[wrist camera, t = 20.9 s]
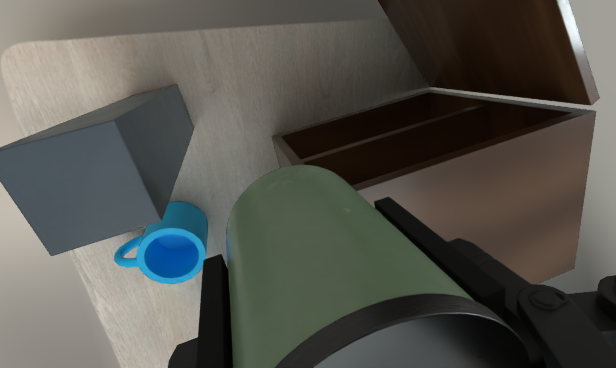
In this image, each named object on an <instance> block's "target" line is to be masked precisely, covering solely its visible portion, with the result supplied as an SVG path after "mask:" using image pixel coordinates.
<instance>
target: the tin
mask: <svg viewBox="0 0 616 368" xmlns="http://www.w3.org/2000/svg"><path fill="white" fill-rule="evenodd" d="M226 244H227V264H228V284H229V303H230V323H231V343H232V363H233V368H531V363H530V357H529V354H528V351H527V349H526V347H525V344H524V342H523V341H522V340H521V338H520V337H519V336H518V334H517V333H516V332H515V331H514V330H513V329H512V328H511V327H510V326H508V325H507V324H506V323H505V322H504V321H503V320H502V319H501V318H500V317H499V316H497V315H496V314H495V313H494V312H493V311H492V310H490V309H489V308H487V307H486V306H484V305H482V304H480V303H479V302H476V301H475V300H474V299H473V298H472V297H471V296H469V295H468V294H467V293H466V292H465V291H464V290H463V289H462V288H461V287H460V286H459V285H458V284H456V283H455V282H454V281H453V280H452V279H451V278H450V277H449V276H448V275H447V274H446V273H445V272H443V271H442V270H441V269H440V268H439V267H438V266H437V265H436V264H435V263H434V262H433V261H432V260H431V259H429V258H428V257H427V256H426V255H425V254H424V253H423V252H422V251H421V250H420V249H419V248H418V247H416V246H415V245H414V244H413V243H412V242H411V241H410V240H409V239H408V238H407V237H406V236H405V235H403V234H402V233H401V232H400V231H399V230H398V229H397V228H396V227H395V226H394V225H393V224H392V223H390V222H389V221H388V220H387V219H386V218H385V217H384V216H383V215H382V214H381V213H380V212H379V211H378V210H376V209H375V208H374V207H373V206H372V205H371V204H370V203H369V202H368V201H367V200H366V199H365V198H363V197H362V196H361V195H360V194H359V193H358V192H357V191H356V190H355V189H354V188H353V187H352V186H350V185H349V184H348V183H347V182H346V181H345V180H344V179H343V178H341V177H340V176H339V175H337V174H335V173H334V172H332V171H329V170H327V169H324V168H321V167H317V166H311V165H295V166H288V167H284V168H280V169H277V170H275V171H272V172H270V173H268V174H266V175H264V176H262V177H260V178H259V179H258V180H256V181H255V182H253V183H252V184H251V185H250V186H249V187H248V188H247V189H246V190H245V191H244V192H243V193H242V194H241V196H240V197H239V198H238V200H237V201H236V203H235V204H234V206H233V209H232V211H231V213H230V216H229V219H228V223H227V229H226Z"/></svg>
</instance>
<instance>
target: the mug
mask: <svg viewBox="0 0 616 368" xmlns="http://www.w3.org/2000/svg"><path fill="white" fill-rule="evenodd" d="M207 234H208V224H207V219H206V217H205V215H204V213H203V212H202V211H201V210H200V209H199V208H198V207H196V206H194V205H192V204H190V203H186V202H180V201H179V202H170V203H168V205H167V208H166V211H165V214H164V217H163V219H162V221H161V222H158V223H154V224H151V225H148V226H147V228H146V230H145V233H144V235H141V236H139V237H137V238H134V239H132V240H131V241H129V242H127V243H125V244H124V245H123V246H121V247H120V248H119V249H118V250H117V251H116V252H115V255H114V261H115V262H116V263H117V264H118V265H119V266H123V267H139V268H140V269H141V271H142V272H143V274H145V275H146V276H147V277H149V278H150V279H151V280H154V281H157V282H160V283H166V284H175V283H181V282H184V281H187V280H189V279H191V278H193V277H194V276H195V275H196V274H198V273H199V272H200V270H201V269H202V267H203V260H205V259H206V251H207ZM137 246H139V247H138V250H137V256H136V258H123V256H124V255H125V254H126V253H127V252H129V251H130V250H131V249H133V248H135V247H137Z"/></svg>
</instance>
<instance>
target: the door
mask: <svg viewBox="0 0 616 368" xmlns="http://www.w3.org/2000/svg"><path fill="white" fill-rule="evenodd" d="M378 2H379V3H380V5H381V6H382V8H383V10H384V12H385V13H386V15H387V17H388V18H389V20H390V22H391V23H392V25H393V27H394V28H395V30H396V32H397V33H398V35H399V37H400V38H401V40H402V42H403V43H404V45H405V47H406V48H407V50H408V52H409V53H410V55H411V57H412V58H413V60H414V62H415V63H416V65H417V67H418V68H419V70H420V72H421V73H422V75H423V77H424V78H425V80H426V82H427V83H428V85H429V87H436V88H444V89H453V90H462V91H470V92H479V93H488V94H496V95H505V96H513V97H522V98H531V99H539V100H548V101H557V102H565V103H574V104H583V105H593V104H594V103H595V102H596V101H597V100H598V99H599V98H600V97H599V94H598V91H597V88H596V85H595V82H594V78H593V75H592V72H591V69H590V66H589V62H588V60H587V56H586V53H585V50H584V47H583V43H582V40H581V37H580V34H579V31H578V28H577V25H576V22H575V18H574V15H573V12H572V9H571V5H570V2H569V0H378Z"/></svg>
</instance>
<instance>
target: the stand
mask: <svg viewBox="0 0 616 368" xmlns="http://www.w3.org/2000/svg"><path fill="white" fill-rule="evenodd" d="M193 131H194V127H193V124H192V122H191V119H190V117H189V114H188V111H187V109H186V106H185V103H184V101H183V98H182V96H181V93H180V90H179V88H178V85H173V86H169V87H165V88H161V89H157V90H153V91H149V92H145V93H142V94H138V95H134V96H130V97H127V98H125V99H122V100H120V101H117V102H115V103H112V104H110V105H107V106H104V107H102V108H99V109H97V110H94V111H92V112H89V113H87V114H84V115H82V116H79V117H76V118H74V119H71V120H69V121H66V122H64V123H61V124H59V125H56V126H54V127H51V128H48V129H46V130H43V131H41V132H38V133H36V134H33V135H31V136H28V137H26V138H23V139H20V140H18V141H15V142H13V143H10V144H8V145H5V146H3V147H1V148H0V182H1V183H2V185H3V186H4V188H5V189H6V191H7V192H8V193H9V195H10V196H11V198H12V199H13V201H14V202H15V204H16V205H17V206H18V208H19V210H20V211H21V213H22V214H23V215H24V217H25V218H26V220H27V221H28V223H29V224H30V226H31V227H32V228H33V230H34V232H35V233H36V235H37V236H38V238H39V239H40V240H41V242H42V243H43V245H44V246H45V248H46V249H47V251H48V252H49V254H50V255H51V256H54V255H57V254H60V253H63V252H66V251H70V250H73V249H76V248H79V247H82V246H85V245H88V244H92V243H95V242H98V241H101V240H104V239H107V238H110V237H114V236H117V235H120V234H123V233H126V232H129V231H132V230H136V229H139V228H142V227H145V226H148V225H151V224H154V223H158V222H161V221H162V219H163V217H164V214H165V211H166V208H167V205H168V202H169V199H170V196H171V194H172V191H173V188H174V185H175V182H176V179H177V176H178V174H179V171H180V168H181V165H182V162H183V159H184V156H185V153H186V151H187V148H188V145H189V142H190V139H191V136H192V133H193Z"/></svg>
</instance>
